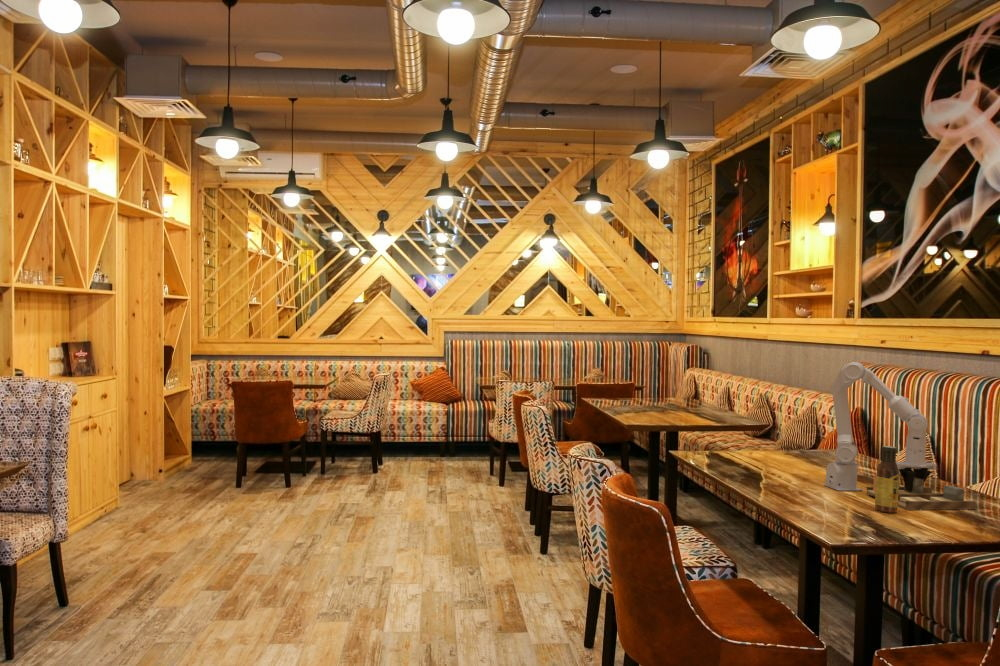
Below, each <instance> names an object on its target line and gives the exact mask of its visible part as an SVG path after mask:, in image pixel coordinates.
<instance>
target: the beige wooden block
mask: <svg viewBox="0 0 1000 666" xmlns="http://www.w3.org/2000/svg"><path fill="white" fill-rule="evenodd" d="M924 486H925V483H924V479H921V478H917V477H914V480H913V488H912V491H908V490H906V489H905V484H904V485H903V487H904V490H899V494H923V487H924ZM867 493H868V494H871V495H874V496H875V491H873V490H867V489H866V494H867Z"/></svg>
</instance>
